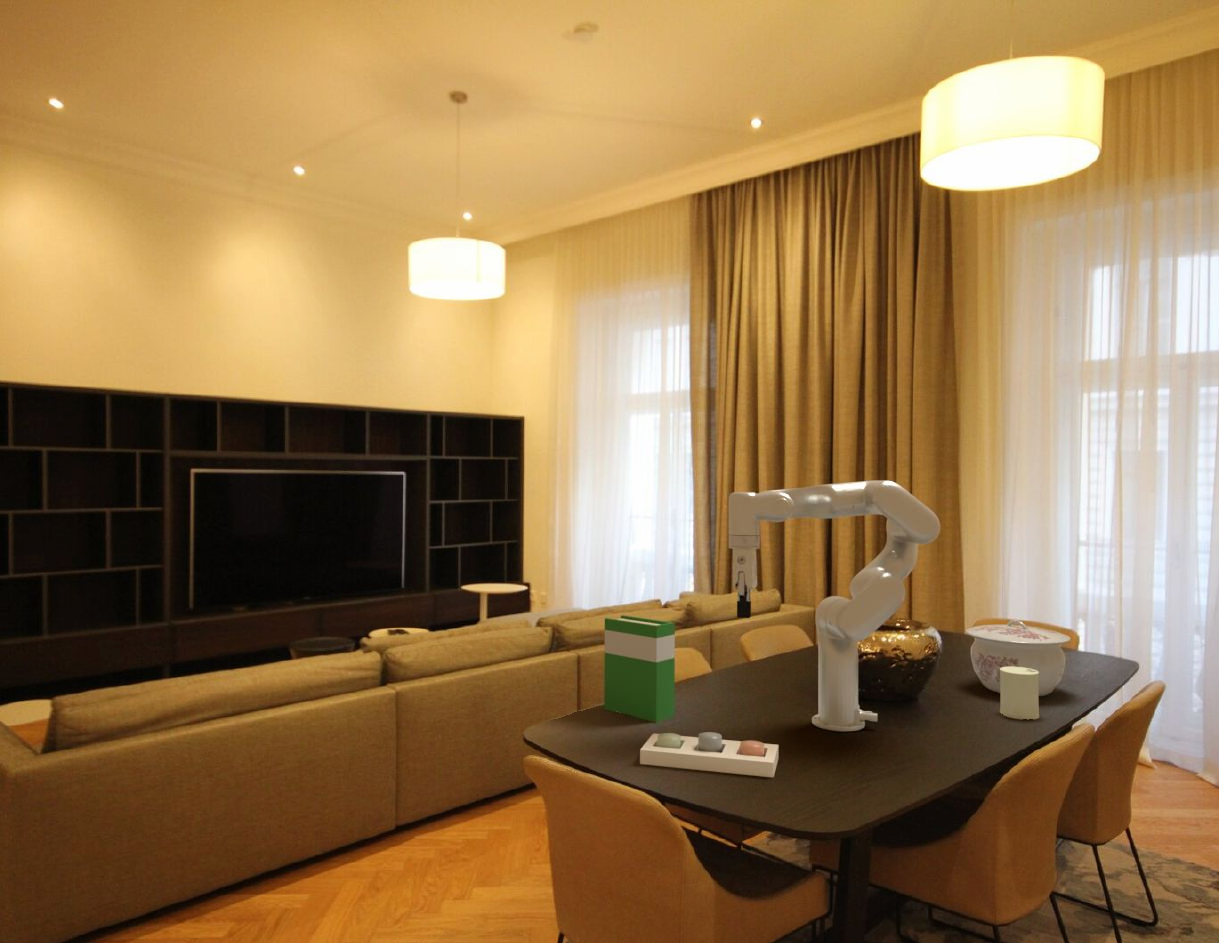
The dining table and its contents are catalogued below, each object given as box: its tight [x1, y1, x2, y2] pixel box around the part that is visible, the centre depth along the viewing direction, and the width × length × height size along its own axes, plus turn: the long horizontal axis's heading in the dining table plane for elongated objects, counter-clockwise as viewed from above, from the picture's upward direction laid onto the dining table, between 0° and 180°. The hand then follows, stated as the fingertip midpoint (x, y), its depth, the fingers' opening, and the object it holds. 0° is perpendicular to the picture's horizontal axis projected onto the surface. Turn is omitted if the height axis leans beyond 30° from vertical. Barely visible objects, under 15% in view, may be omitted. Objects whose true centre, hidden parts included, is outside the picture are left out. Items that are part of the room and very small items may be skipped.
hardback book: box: [603, 614, 676, 723], centre depth 215 cm, size 18×7×24 cm, turn 48°
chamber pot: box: [964, 619, 1072, 698], centre depth 238 cm, size 28×28×21 cm
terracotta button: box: [740, 740, 765, 757], centre depth 175 cm, size 5×5×4 cm
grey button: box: [698, 731, 723, 753], centre depth 178 cm, size 5×5×4 cm
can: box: [999, 667, 1040, 721], centre depth 214 cm, size 9×9×12 cm
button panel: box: [639, 732, 780, 778], centre depth 178 cm, size 28×12×3 cm, turn 74°
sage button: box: [658, 732, 682, 749], centre depth 180 cm, size 5×5×4 cm
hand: (744, 617), depth 202 cm, fingers closed
